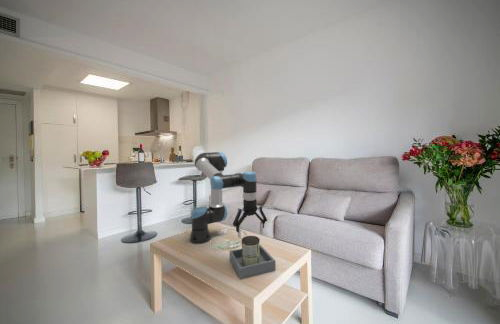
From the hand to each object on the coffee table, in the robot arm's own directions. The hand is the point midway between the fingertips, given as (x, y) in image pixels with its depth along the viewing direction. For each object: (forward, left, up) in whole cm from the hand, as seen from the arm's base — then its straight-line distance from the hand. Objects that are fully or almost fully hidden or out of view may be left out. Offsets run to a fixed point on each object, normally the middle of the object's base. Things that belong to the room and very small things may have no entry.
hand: (250, 235), depth 121 cm
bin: (0, 0, -17) cm, 17 cm away
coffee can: (0, 0, -17) cm, 17 cm away
